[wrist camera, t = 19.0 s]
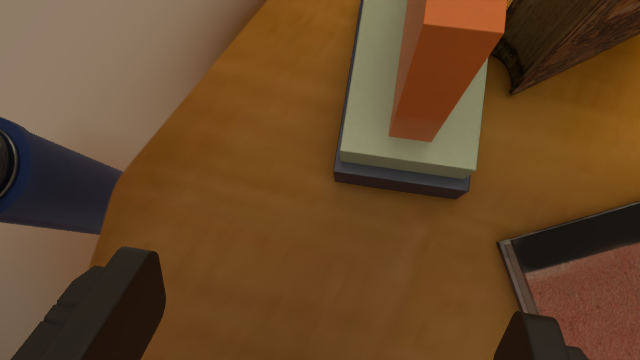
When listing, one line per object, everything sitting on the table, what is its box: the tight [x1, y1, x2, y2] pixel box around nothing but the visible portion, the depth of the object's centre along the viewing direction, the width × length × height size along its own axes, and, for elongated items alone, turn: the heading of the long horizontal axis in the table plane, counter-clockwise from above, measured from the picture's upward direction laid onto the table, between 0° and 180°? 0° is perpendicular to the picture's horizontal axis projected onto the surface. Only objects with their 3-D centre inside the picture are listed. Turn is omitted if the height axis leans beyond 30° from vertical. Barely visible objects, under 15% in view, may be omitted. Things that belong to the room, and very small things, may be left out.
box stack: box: [333, 0, 488, 199], centre depth 44 cm, size 12×20×9 cm, turn 171°
